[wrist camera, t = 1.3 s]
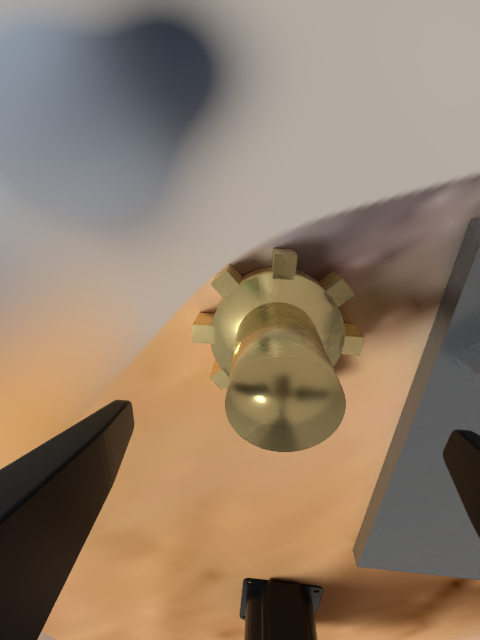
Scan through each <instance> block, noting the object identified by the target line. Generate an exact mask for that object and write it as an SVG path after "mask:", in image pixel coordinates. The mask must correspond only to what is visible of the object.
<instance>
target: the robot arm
mask: <svg viewBox="0 0 480 640" xmlns="http://www.w3.org/2000/svg"><path fill="white" fill-rule="evenodd" d="M133 429H134V417H133V409H132V404H131V402H130V401H127V400H115V401H113V402H111V403H110V404H108V405H106V406H105V407H103V408H101V409H100V410H98V411H96V412H95V413H93V414H92V415H90V416H88V417H87V418H85V419H83V420H82V421H80V422H78V423H77V424H75V425H73V426H72V427H70V428H69V429H67V430H65V431H63V432H62V433H60V434H58V435H57V436H55V437H54V438H52V439H50V440H49V441H47V442H45V443H44V444H42V445H40V446H39V447H37V448H35V449H34V450H32V451H30V452H29V453H27V454H26V455H24V456H22V457H20V458H19V459H17V460H16V461H14V462H12V463H11V464H9V465H7V466H6V467H4V468H2V469H1V470H0V640H37V639H38V637H39V635H40V633H41V631H42V629H43V627H44V625H45V623H46V621H47V619H48V617H49V615H50V613H51V611H52V608H53V606H54V604H55V602H56V600H57V598H58V596H59V594H60V592H61V590H62V588H63V586H64V584H65V582H66V580H67V578H68V576H69V574H70V572H71V570H72V568H73V566H74V564H75V562H76V559H77V557H78V555H79V553H80V551H81V549H82V547H83V545H84V543H85V541H86V539H87V537H88V535H89V533H90V531H91V529H92V527H93V525H94V523H95V521H96V519H97V517H98V515H99V513H100V510H101V508H102V506H103V504H104V502H105V500H106V498H107V496H108V494H109V492H110V490H111V488H112V485H113V483H114V481H115V478H116V476H117V473H118V470H119V468H120V465H121V462H122V459H123V457H124V454H125V451H126V449H127V446H128V443H129V441H130V438H131V435H132V433H133ZM443 459H444V462H445V464H446V467H447V469H448V471H449V474H450V476H451V478H452V480H453V483H454V485H455V487H456V490H457V492H458V494H459V497H460V499H461V501H462V504H463V506H464V508H465V510H466V513H467V515H468V517H469V519H470V521H471V523H472V525H473V527H474V529H475V531H476V533H477V535H478V537H479V538H480V435H478V434H477V433H475V432H473V431H470V430H460V429H456V430H453V431H452V432H451V434H450V436H449V438H448V441H447V443H446V445H445V447H444V449H443ZM247 582H251V583H247ZM315 589H318V591H315ZM322 592H323V590H322V587H320V586H316V585H307V584H298V583H289V582H280V581H271V580H262V579H253V578H246V579H244V580H243V588H242V598H241V608H240V618H241V619H244V620H245V640H317V633H316V625H315V615H316V611H317V608H318V605H319V602H320V599H321V596H322ZM244 615H245V616H244Z"/></svg>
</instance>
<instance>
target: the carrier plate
mask: <svg viewBox="0 0 480 640" xmlns="http://www.w3.org/2000/svg"><path fill="white" fill-rule="evenodd" d="M456 429H460V430H470V431H473V432H475V433H477V434H478V435H480V219H472V218H471V220H470V223H469V226H468V229H467V232H466V234H465V237H464V240H463V243H462V246H461V248H460V251H459V254H458V257H457V260H456V262H455V265H454V268H453V271H452V274H451V276H450V279H449V282H448V285H447V288H446V290H445V293H444V296H443V299H442V302H441V304H440V307H439V310H438V313H437V316H436V318H435V321H434V324H433V327H432V330H431V333H430V335H429V338H428V341H427V344H426V347H425V349H424V352H423V355H422V358H421V361H420V363H419V366H418V369H417V372H416V375H415V377H414V380H413V383H412V386H411V389H410V391H409V394H408V397H407V400H406V403H405V405H404V408H403V411H402V414H401V417H400V419H399V422H398V425H397V428H396V431H395V434H394V436H393V439H392V442H391V445H390V448H389V450H388V453H387V456H386V459H385V462H384V464H383V467H382V470H381V473H380V476H379V478H378V481H377V484H376V487H375V490H374V492H373V495H372V498H371V501H370V504H369V506H368V509H367V512H366V515H365V518H364V520H363V523H362V526H361V529H360V532H359V535H358V537H357V540H356V543H355V546H354V549H353V553H354V557H355V560H356V564H357V567H364V568H374V569H383V570H392V571H402V572H411V573H420V574H429V575H439V576H448V577H457V578H467V579H476V580H480V538H479V537H478V535H477V533H476V531H475V529H474V527H473V525H472V523H471V521H470V519H469V517H468V515H467V513H466V510H465V508H464V506H463V504H462V501H461V499H460V497H459V494H458V492H457V490H456V487H455V485H454V483H453V480H452V478H451V476H450V474H449V471H448V469H447V467H446V464H445V462H444V459H443V449H444V447H445V445H446V443H447V441H448V438H449V436H450V434H451V432H452V431H453V430H456Z"/></svg>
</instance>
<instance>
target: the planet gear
mask: <svg viewBox="0 0 480 640" xmlns="http://www.w3.org/2000/svg"><path fill="white" fill-rule="evenodd" d="M297 257H298V255H297V254H296V252H295V251H294V250H293V249H278V248H273V256H272V267H266V268H261V269H258V270H255V271H252V272H250V273H247V274H246V275H244V276H241V275H240V274H239V273H238V272H237V271H236V269H235V268H234V267H233V266H232V265H231V264H230V263H229V264H228V265H227V266H226V267H225V268H224V269H223V270H222V271H221V272H219V273H218V274H217V275H216V276H215V278H214V280H213V281H212V283H211V285H212V286H213V288H214V289H215V290H216V291H217V292H218V293H219V294H220V295H221V296H222V298H221V300H220V302H219V305H218V307H217V310H216V312H215V314H214V313H200V312H199V314H198V316H197V318H196V319H195V321H194V323H193V342H194V343H207V344H211V347H212V351H213V354H214V357H215V359H216V361H215V362H214V365H213V368H212V372H211V375H210V379H211V380H212V381H213V382H214V383H215V384H216V385H217V386H218V387H219V388H220V389H221V390H223V389H225V388H226V387H228V388H227V393H226V400H225V410H226V415H227V417H228V420H229V422H230V424H231V426H232V427H233V429H234V430H235V431H236V432H237V433H238V434H239V435H240V436H241V437H242V438H243V439H245V440H246V441H248V442H249V443H251V444H253V445H255V446H257V447H260V448H263V449H266V450H270V451H277V452H293V451H300V450H304V449H308V448H310V447H313V446H315V445H317V444H319V443H321V442H323V441H324V440H326V439H327V438H328V437H329V436H331V435H332V434H333V433H334V432H335V431H336V429H337V428H338V426H339V425H340V423H341V421H342V419H343V416H344V413H345V408H346V400H345V394H344V391H343V388H342V386H341V384H340V382H339V379H338V377H337V375H336V372H335V370H334V368H333V367H334V366H335V364H336V363H337V361H338V359H339V357H340V355H341V354H348V355H360V353H361V349H362V345H363V341H364V337H363V335H362V334H361V333H360V331H359V330H358V329H357V327H356V326H355V325H354V324H350V323H344V320H343V317H342V314H341V312H340V310H339V308H338V307H339V306H340V305H342V304H343V303H344V302H346V301H347V300H349V299H350V298H351V297H353V296H354V295H355V294H354V292H353V291H352V290H351V288H350V287H349V286H348V285H347V283H346V282H345V281H344V279H343V278H342V277H341V276H340V275H339V274H337V273H336V272H335V271H334V270H333V271H332V272H331V273H329V274H328V275H327V276H325V277H324V278H323V279H322V280H320V281H319V282H318V281H317V280H316V279H314V278H313V277H311V276H310V275H308V274H306V273H304V272H302V271H299V270H296V265H297Z"/></svg>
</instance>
